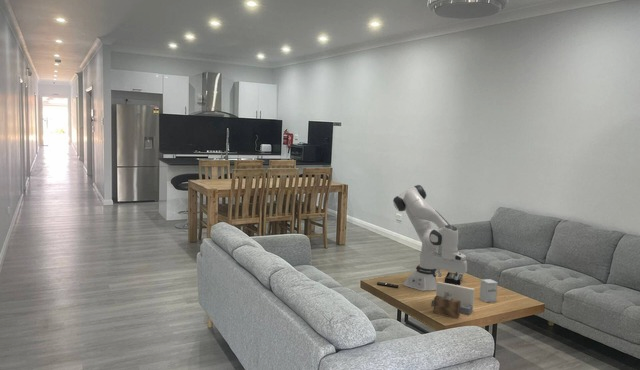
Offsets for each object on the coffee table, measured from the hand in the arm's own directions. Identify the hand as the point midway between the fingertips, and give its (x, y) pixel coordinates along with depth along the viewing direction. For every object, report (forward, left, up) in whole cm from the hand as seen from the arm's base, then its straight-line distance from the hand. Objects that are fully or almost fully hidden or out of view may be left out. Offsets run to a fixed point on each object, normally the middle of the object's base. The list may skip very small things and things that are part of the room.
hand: (447, 278), depth 264 cm
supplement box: (+14, +40, -21) cm, 48 cm away
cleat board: (0, +12, -21) cm, 24 cm away
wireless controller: (-15, +65, -22) cm, 70 cm away
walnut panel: (0, 0, -21) cm, 21 cm away
